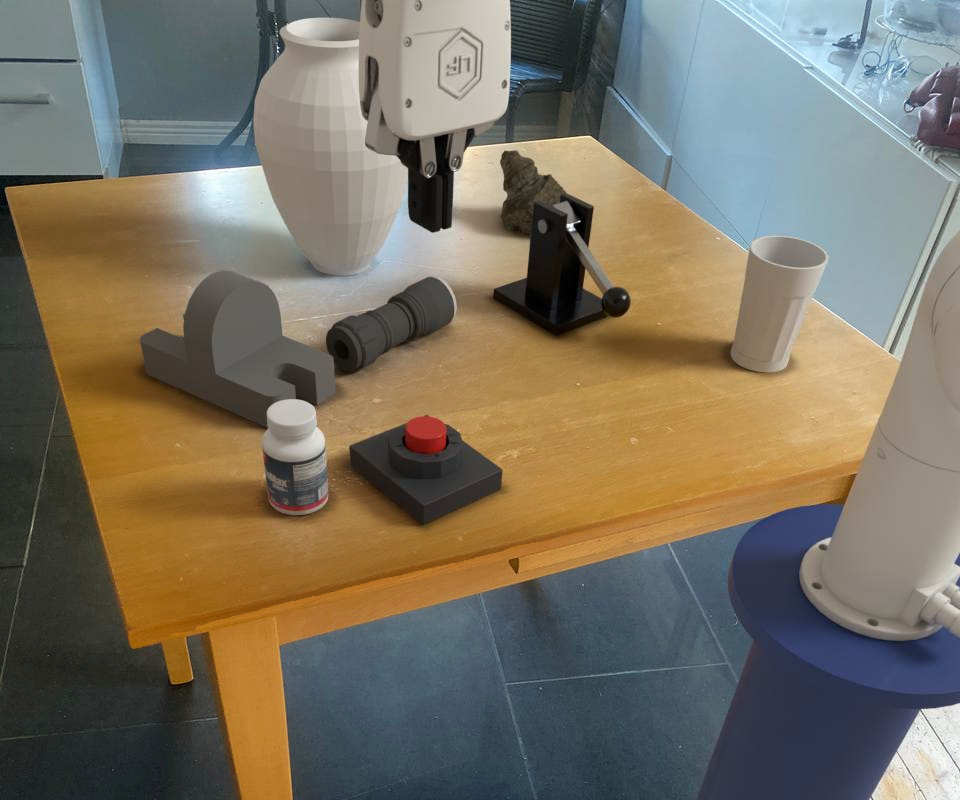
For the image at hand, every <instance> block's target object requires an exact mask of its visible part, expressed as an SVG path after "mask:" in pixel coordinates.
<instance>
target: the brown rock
mask: <svg viewBox="0 0 960 800" xmlns="http://www.w3.org/2000/svg"><path fill="white" fill-rule="evenodd" d="M535 164H536V162H535V161H534V160H533V159H532V158H531V157H525V156H522V155H521V154H520V152H519V151H518V150H516V149H514V150H504V151H503V152H502V153H501V157H500V160H499V165H500V167H501V170H502V174H503V181H502V184H503V185H502V187H503V191H504V192H505V193H506V198H505V200H504V201H503V202H502V207H501V213H500V217H499V218H500V220H501V221H502V223H503V224H504V226H505V227H506V228H507V229H508V230H510V231H517V230H520V229H521V231H522V232H523V233H524V234H527V235H531V227H532V216H533V205H534V202H537V201H542V202H544V203H546V204H548V205H550V206H553V205H555V204H559V203H560V195H562V194H565V193H567V191H566V190H565V189H564V187H563V186H562V185H561V184H559V182H558V181H557V180H556V179H555V178H554V177H553V176H552V174H551V173H548V174H541V173H539V171H538V167H537V166H535ZM596 211H598V210H596ZM597 219H598V218H596V220H597Z"/></svg>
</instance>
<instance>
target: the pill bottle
mask: <svg viewBox="0 0 960 800" xmlns="http://www.w3.org/2000/svg"><path fill="white" fill-rule="evenodd" d="M317 424H318V419H317V411H316V408H315V407H314V405H313V404H312V403H311V402H308V401H306V400H304V399H298V398H296V399H287V400H282V401H278V402H276V403H274V404H272V405H271V406H270V407H269V408H268V410H267V426H268V428H267V429H266V431H265V432H264V433H263V435H262V438H261V448H262V449H261V450H262V457H263V465H264V473H265V482H266V483H265V484H266V491H267V499H268V502H269V504H270V505H271V507H272V508H273V509H275V511H277V512H280V513H282V514H285V515H288V516H305V515H306V516H307V515H309V514H312V513H315V512H317V511H319V510H320V509H322V508H323V507H324V506H325V505H326V503H327V502H328V499H329V482H328V478H329V477H328V466H327V465H328V464H327V450H326V446H327V445H326V437H325V435H324V434H323V433H324V432H323V431H322V430H321V429H320V428H319V427H318V426H317Z"/></svg>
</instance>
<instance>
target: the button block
mask: <svg viewBox="0 0 960 800" xmlns="http://www.w3.org/2000/svg"><path fill="white" fill-rule="evenodd" d="M424 416H427V417H430V416H429V415H428V414H426V415H424ZM407 423H408V422H406V423H403V424H400V425H398V426H395V427H393V428H391V429H388V430H385V431H382V432H381V433H378V434H375V435H373V436H370V437H367V438H365V439H363V440H360V441H358V442H355V443H353V444H351V445H349V446H348V449H349V466H350V467H351V468H353V470H355V471H356V472H357V473H358V474H360V475H361V476H362V477H364V478H365V480H367V481H368V482H370V483H371V484H372V485H373V486H374V487H376V488H377V489H378V490H379V491H381V492H382V493H383V494H384V495H385V496H387V497H388V498H389V499H390V500H391V501H392V502H394V503H395V505H397V506H399V507H400V508H401V509H403V511H405V512H406V513H407V514H408V515H410V516H411V517H412V518H414V519H415V520H416V522H418V523H419V524H421V526H426V525H428V524H429V523H432V522H434V521H436V520H438V519H441V518H442V517H445V516H446V515H447V516H448V514H451V513H454V512H455V511H457V510H460V509H462V508H464V507H467V506H468V505H470V504H472V503H474V502H476V501H479V500H481V499H483V498H485V497H487V496H489V495H492V494H494V493H496V492H498V491H500V490H501V489H502V484H503V483H502V481H503V471H504V469H503V468H501V467H500V466H498V464H496V463H495V462H493V461H492V460H490V459H489V458H487V457H486V456H485V455H483V454H482V453H481V452H479V451H478V450H477V449H475V448H474V447H473V446H471V445H470V444H468V443H467V442H466V441H464V440H463V438H462V435H461V433H460V431H458V430H457V429H455V428H454V427H453V426H451V425H450V424H447V423H444V424H445V425H446V446H445V448H444V449H443V450H442V451H440V452H438V453H436V454H420V453H416V452H412V451H410V450H409V449H408V448H407V447H406V444H405V427H406V424H407Z"/></svg>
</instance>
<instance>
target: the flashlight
mask: <svg viewBox="0 0 960 800" xmlns="http://www.w3.org/2000/svg"><path fill="white" fill-rule="evenodd" d="M454 293H455V292H454V291H453V289H452V288H451V287H450V285H449V283H448V282H447V281H445V280H444V279H443V278H442V277H439V276H437V275H429V276H426V277H425V278H422V279H420V280H418V281H416V282H414V283H412V284H410V285H409V286H407V287H406V288H405V289H404V290H403V291H401V292H399V293H397V294H395V295H392V296H391V297H390V298H389V299H388V300H387V302H386V303H385V304H383V305H381V306H379V307H376V308H375V309H372V310H371V309H370V310H367V311H365V312H363V313H361V314H358V315H349V316H346V317H344V318H342V319H340V320H338V321H336V322H335V323H333V324H332V325H331V328H330V329H328V330H327V332H326V336H325V345H326V349H327V352H328V354H330V355H332V356H333V358H334V365H336V366H337V367H338V368H340V369H341V370H342V371H345V372H358V371H360V370H363V369H365V368H367V367H369V366H370V365H372V364H374V363H375V362H376V360H377V359H378V358H379V357H381V356H382V355H384V354H385V353H387V352H389V351H390V350H391V349H392V348H394V347H396V346H398V345H400V344H401V343H403V342H414V341H415V340H417V339H419V338H421V337H423V336H424V335H425V336H426V335H430V334H433V333H434V332H436V331H439V330H440V329H442V328H444V327H447V326H448V325H450V324H451V323H452V322H454V320H455V318H456V315H457V310H458V309H457V307H458V306H457V300H456V296H455V294H454Z"/></svg>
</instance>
